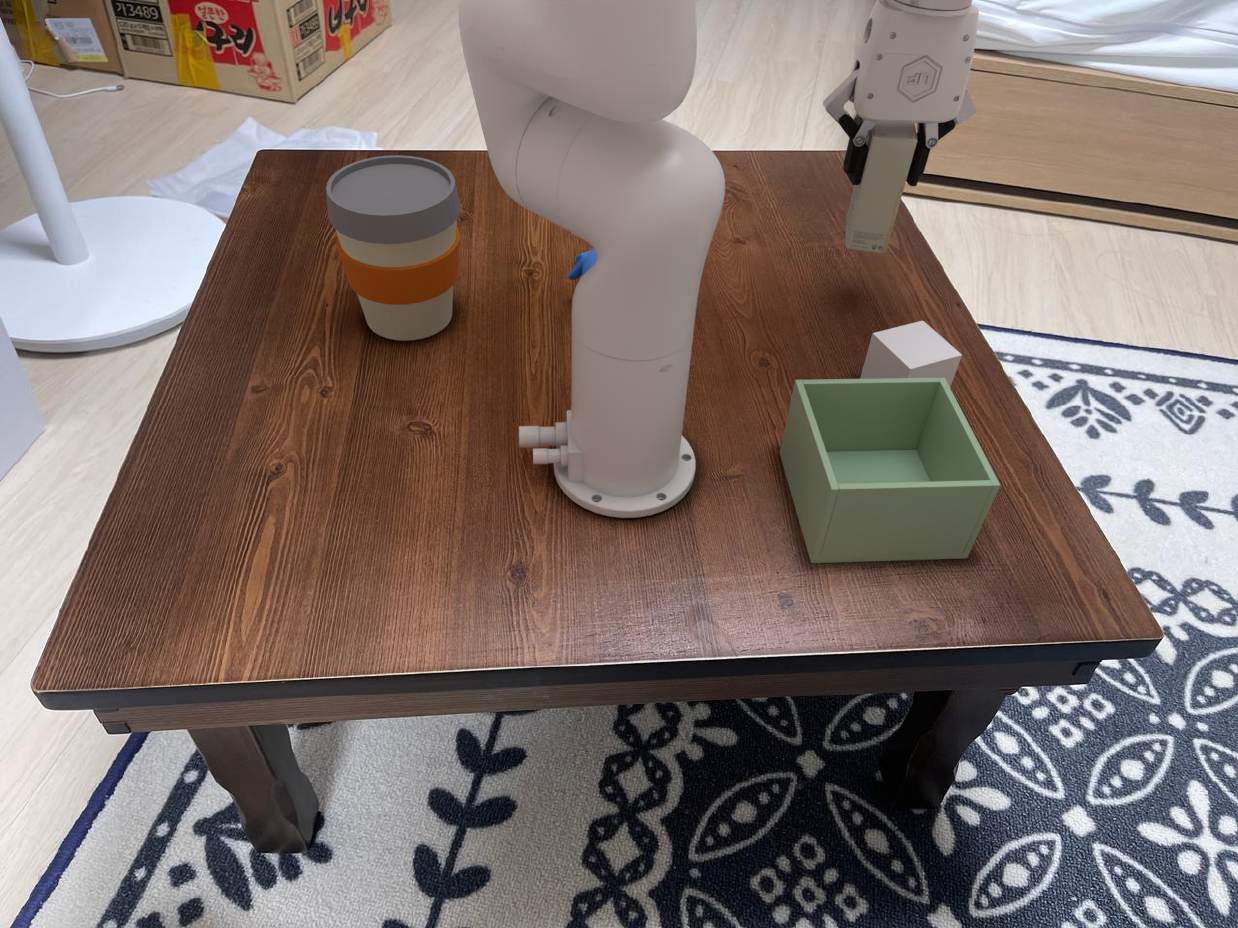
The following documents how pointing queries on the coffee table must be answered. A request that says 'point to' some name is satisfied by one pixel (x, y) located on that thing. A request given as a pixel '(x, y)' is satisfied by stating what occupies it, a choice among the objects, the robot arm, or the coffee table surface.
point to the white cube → (910, 354)
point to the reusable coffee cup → (398, 241)
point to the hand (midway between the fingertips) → (880, 178)
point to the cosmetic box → (880, 187)
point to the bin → (884, 470)
